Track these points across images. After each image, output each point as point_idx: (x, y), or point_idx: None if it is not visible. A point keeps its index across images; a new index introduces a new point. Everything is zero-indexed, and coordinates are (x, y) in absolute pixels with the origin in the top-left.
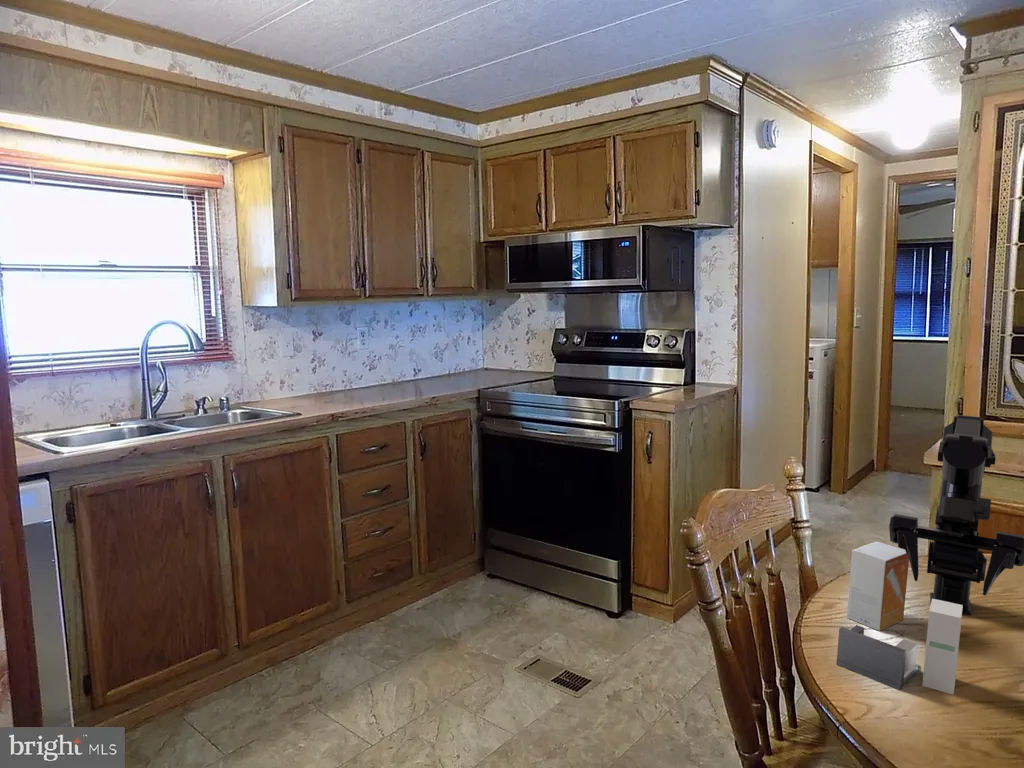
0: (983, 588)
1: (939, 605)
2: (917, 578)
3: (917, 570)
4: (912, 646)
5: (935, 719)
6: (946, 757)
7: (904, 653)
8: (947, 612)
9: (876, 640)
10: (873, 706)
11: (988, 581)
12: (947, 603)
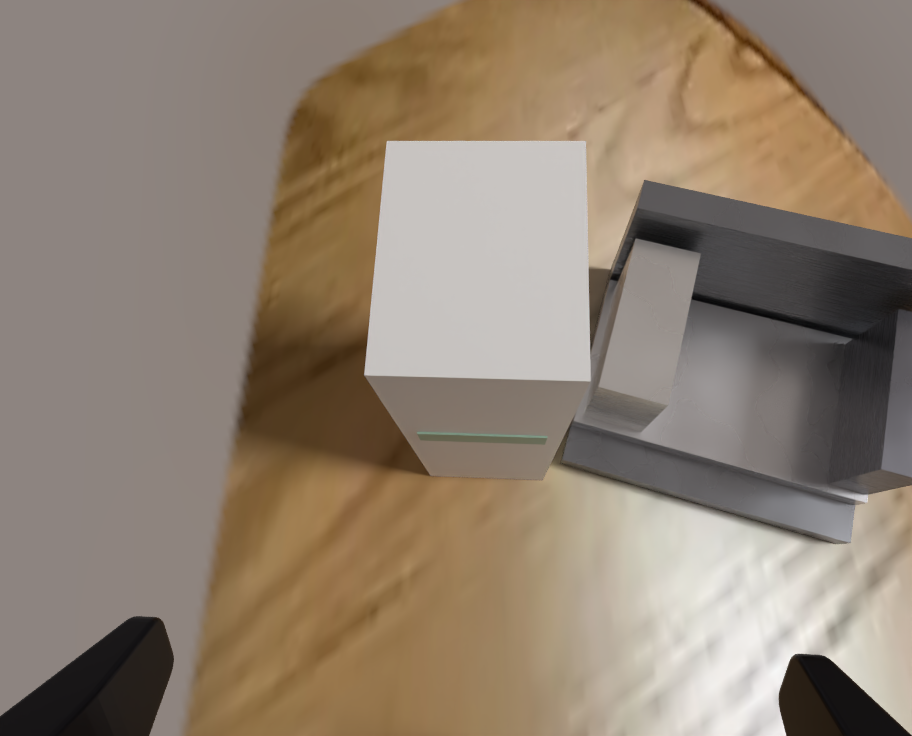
0: (136, 648)
1: (528, 267)
2: (792, 686)
3: (854, 731)
4: (617, 343)
5: None
6: (456, 8)
7: (639, 197)
8: (471, 179)
9: (781, 230)
10: (669, 129)
11: (32, 718)
12: (474, 343)
